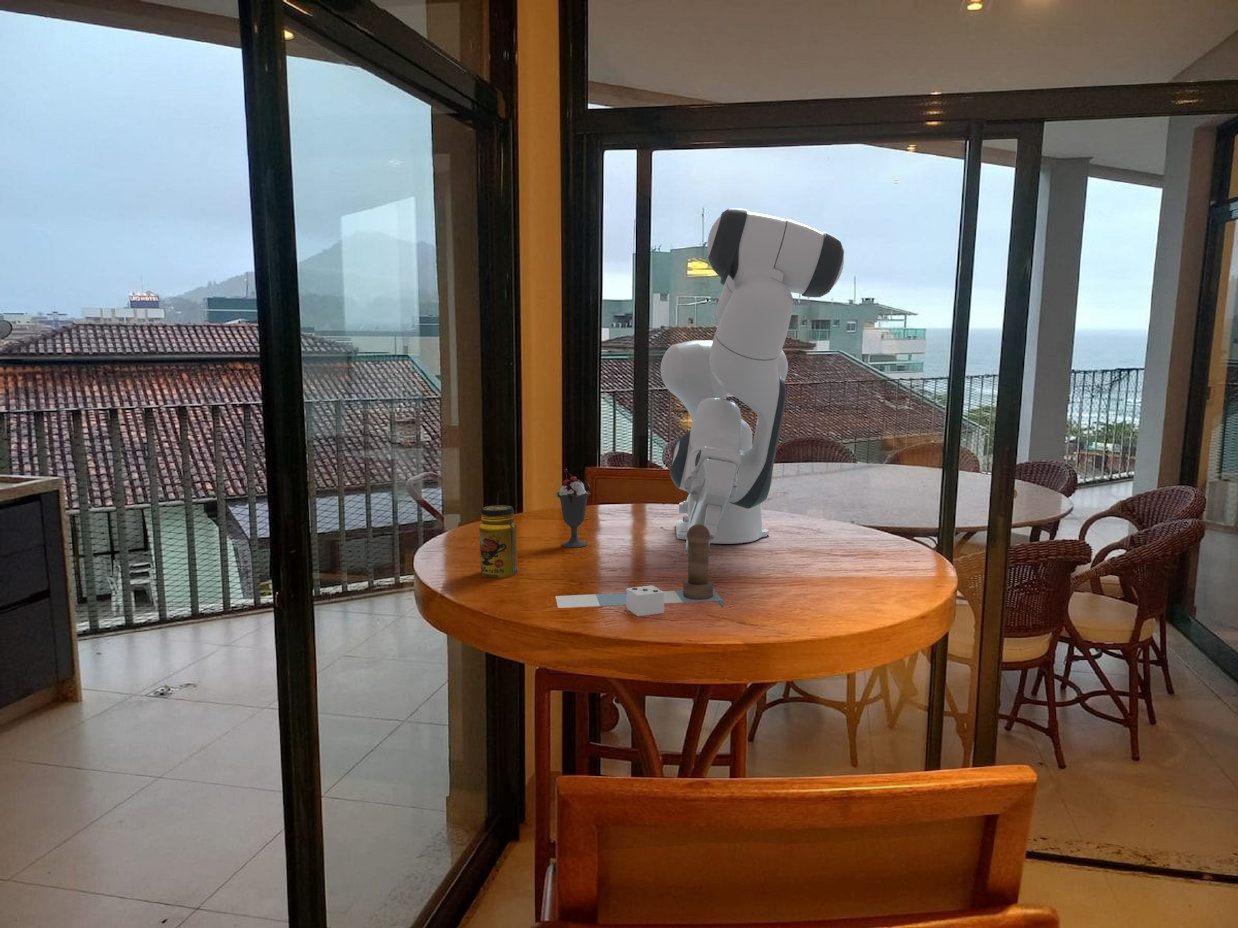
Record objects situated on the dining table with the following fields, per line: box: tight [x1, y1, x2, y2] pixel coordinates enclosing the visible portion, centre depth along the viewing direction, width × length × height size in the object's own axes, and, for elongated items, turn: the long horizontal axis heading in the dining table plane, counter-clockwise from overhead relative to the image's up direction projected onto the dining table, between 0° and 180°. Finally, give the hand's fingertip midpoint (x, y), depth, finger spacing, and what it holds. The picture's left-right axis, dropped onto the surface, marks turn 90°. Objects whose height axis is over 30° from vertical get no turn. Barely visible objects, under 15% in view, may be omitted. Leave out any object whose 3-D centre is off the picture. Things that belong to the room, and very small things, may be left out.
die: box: [625, 584, 665, 617], centre depth 120 cm, size 4×4×4 cm
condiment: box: [478, 504, 519, 579], centre depth 142 cm, size 7×8×12 cm
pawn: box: [682, 524, 714, 600], centre depth 127 cm, size 4×4×11 cm
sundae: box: [555, 468, 592, 549], centre depth 165 cm, size 7×7×15 cm
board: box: [555, 588, 724, 609], centre depth 126 cm, size 6×24×1 cm, turn 98°
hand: (703, 551), depth 135 cm, fingers open, 8 cm apart
